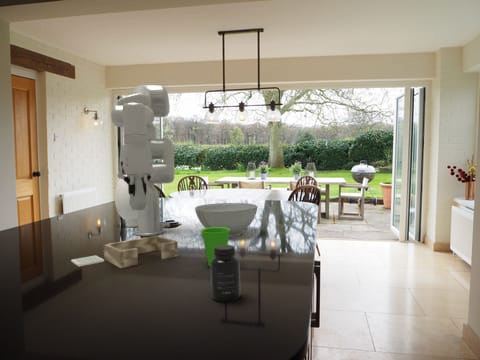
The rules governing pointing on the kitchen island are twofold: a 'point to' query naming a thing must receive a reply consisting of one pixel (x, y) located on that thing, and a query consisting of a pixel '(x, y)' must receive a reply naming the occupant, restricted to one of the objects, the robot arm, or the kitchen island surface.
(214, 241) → the cup
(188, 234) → the kitchen island surface
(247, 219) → the decorative bowl
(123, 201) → the lamp
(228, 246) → the supplement bottle
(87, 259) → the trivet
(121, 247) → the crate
